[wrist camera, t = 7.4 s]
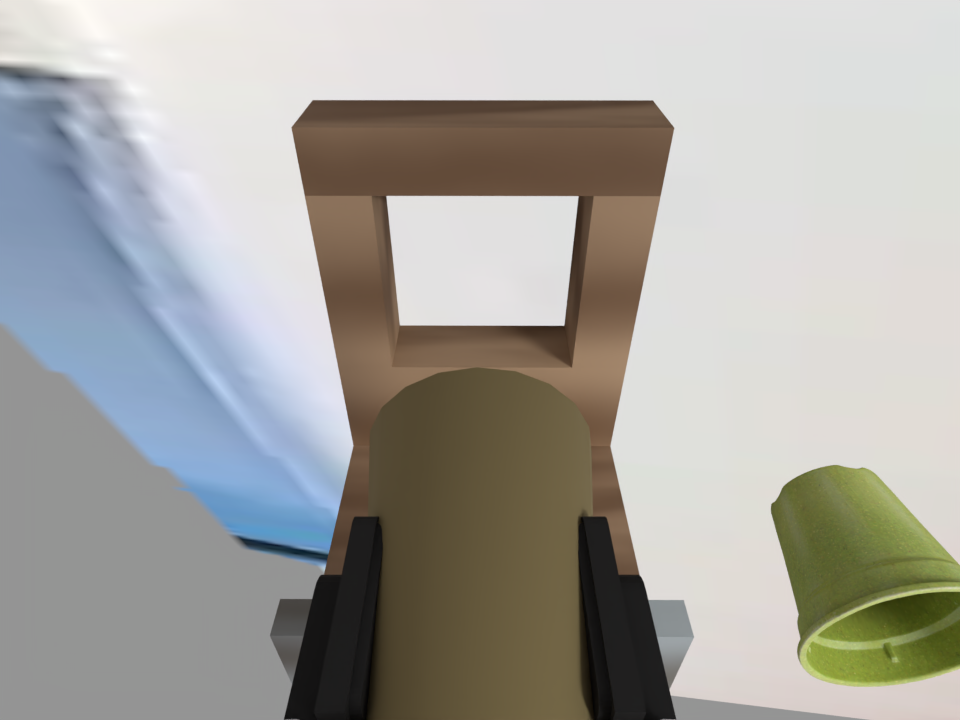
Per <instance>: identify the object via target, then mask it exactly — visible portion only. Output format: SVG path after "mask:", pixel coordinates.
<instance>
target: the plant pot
mask: <svg viewBox="0 0 960 720" xmlns="http://www.w3.org/2000/svg"><path fill="white" fill-rule="evenodd" d="M771 514H772V518H773V521H774V525H775V529H776V532H777V536H778V539H779V543H780V546H781V549H782V553H783V556H784V560H785V564H786V568H787V572H788V575H789V579H790V583H791V587H792V591H793V595H794V598H795V602H796V606H797V610H798V614H799V615H798V620H797V625H798V631H799V635H800V641H799V643H798V647H797V655H798V659H799V662H800V664H801V666H802V667H803V669H804V670H805V671H806V672H807V673H809V674H810V675H811V676H813V677H814V678H816V679H819V680H822V681H824V682H828V683H832V684H836V685H844V686H853V687H880V686H890V685H899V684H906V683H911V682H917V681H922V680H925V679H930V678H933V677H936V676H941V675H943V674H946V673H950V672H953V671H955V670H958V669H960V565H959V564H958V562H957V561H956V560H955V559H954V558H953V557H952V556H951V555H950V554H949V553H948V552H947V551H946V550H945V549H944V547H943V546H942V545H941V544H940V543H939V542H938V541H937V540H936V539H935V538H934V537H933V536H932V535H931V533H930V532H929V531H928V530H927V529H926V528H925V527H924V526H923V525H922V524H921V523H920V522H919V521H918V519H917V518H916V517H915V516H914V515H913V514H912V513H911V512H910V511H909V510H908V508H907V507H906V506H905V505H904V504H903V503H902V502H901V501H900V500H899V498H898V497H897V496H896V495H895V494H894V493H893V492H892V491H891V490H890V488H889V487H888V486H887V485H886V484H885V483H884V482H883V481H882V480H881V479H880V478H879V477H878V476H877V475H876V474H875V473H874V472H873V471H871V470H869V469H867V468H863V467H862V468H859V469H855V468H849V467H844V466H840V465H830V466H825V467H820V468H817V469H813V470H811V471H808V472H806V473H803V474H801V475H799V476H797V477H795V478H794V479H792V480H791V481H789V482H788V483H787V484H785V485H784V486H783V488H782V490H781V492H780V494H779V496H778V498H777V499H776V501H775V502H773V503H772V504H771Z"/></svg>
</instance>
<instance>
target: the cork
mask: <svg viewBox="0 0 960 720" xmlns="http://www.w3.org/2000/svg"><path fill="white" fill-rule="evenodd" d="M368 516H379V521H378V522H377V523H379V524H380V525H381V528H382V541H383V551H382V560H381V569H380V578H379V587H378V598H377V608H376V619H375V630H374V640H373V651H372V662H371V672H370V683H369V694H368V704H367V715H366V720H594V709H593V699H592V689H591V679H590V669H589V658H588V648H587V638H586V628H585V618H584V607H583V597H582V587H581V577H580V567H579V556H578V535H579V525H580V523H583V522H582V520H581V517H582V516H593V493H592V451H591V441H590V431H589V426H588V424H587V422H586V421H585V419H584V417H583V416H582V414H581V412H580V411H579V409H578V407H577V406H576V404H575V403H574V402H573V401H571V400H570V399H569V398H567V397H566V396H565V395H564V394H562V393H561V392H560V391H558V390H557V389H556V388H554V387H553V386H552V385H551V384H549V383H546V382H543V381H541V380H538V379H535V378H533V377H530V376H527V375H525V374H522V373H519V372H517V371H509V370H500V369H490V368H480V367H475V368H468V369H461V370H454V371H447V372H440V373H436V374H434V375H432V376H429V377H427V378H425V379H422V380H420V381H418V382H415V383H413V384H411V385H408V386H406V387H405V388H403V389H402V390H401V391H400V392H399V393H398V394H397V395H395V396H394V397H393V398H392V399H391V400H390V401H388V402H387V403H386V404H385V405H384V406H383V407H382V408H381V410H380V412H379V414H378V416H377V418H376V420H375V422H374V424H373V426H372V428H371V430H370V447H369V491H368Z"/></svg>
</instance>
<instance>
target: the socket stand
mask: <svg viewBox="0 0 960 720" xmlns="http://www.w3.org/2000/svg"><path fill="white" fill-rule="evenodd" d="M291 128H292V133H293V139H294V144H295V149H296V154H297V159H298V164H299V169H300V174H301V180H302V185H303V190H304V195H305V200H306V205H307V210H308V215H309V221H310V226H311V231H312V236H313V241H314V246H315V251H316V256H317V262H318V267H319V272H320V277H321V282H322V287H323V292H324V297H325V303H326V308H327V313H328V318H329V323H330V328H331V333H332V338H333V344H334V349H335V354H336V359H337V364H338V369H339V374H340V379H341V385H342V390H343V395H344V400H345V405H346V410H347V415H348V420H349V426H350V431H351V436H352V441H353V450H352V454H351V458H350V463H349V467H348V471H347V476H346V480H345V484H344V489H343V493H342V498H341V502H340V506H339V511H338V515H337V519H336V524H335V528H334V533H333V537H332V541H331V546H330V550H329V554H328V559H327V563H326V567H325V572H324V575H342V570H343V565H344V560H345V555H346V550H347V545H348V540H349V535H350V530H351V525H352V521H353V518H354V517H355V516H368V491H369V447H370V430H371V428H372V426H373V424H374V422H375V420H376V418H377V416H378V414H379V412H380V410H381V408H382V407H383V406H384V405H385V404H386V403H387V402H388V401H390V400H391V399H392V398H393V397H394V396H395V395H397V394H398V393H399V392H400V391H401V390H402V389H403V388H405V387H406V386H408V385H411V384H413V383H415V382H418V381H420V380H422V379H425V378H427V377H429V376H432V375H434V374H436V373H440V372H447V371H454V370H461V369H468V368H475V367H480V368H490V369H500V370H509V371H517V372H519V373H522V374H525V375H527V376H530V377H533V378H535V379H538V380H541V381H543V382H546V383H549V384H551V385H552V386H553V387H554V388H556V389H557V390H558V391H560V392H561V393H562V394H564V395H565V396H566V397H567V398H569V399H570V400H571V401H573V402H574V403H575V404H576V406H577V407H578V409H579V411H580V412H581V414H582V416H583V417H584V419H585V421H586V422H587V424H588V426H589V431H590V441H591V451H592V493H593V516H605V517H606V518H607V520H608V524H609V529H610V534H611V539H612V544H613V549H614V554H615V559H616V564H617V569H618V574H619V575H640V574H639V570H638V565H637V561H636V557H635V552H634V548H633V543H632V539H631V535H630V530H629V526H628V521H627V517H626V513H625V508H624V504H623V499H622V495H621V491H620V486H619V482H618V477H617V473H616V469H615V464H614V460H613V455H612V451H611V447H610V446H611V441H612V436H613V431H614V426H615V421H616V416H617V411H618V406H619V401H620V396H621V391H622V386H623V381H624V376H625V371H626V366H627V361H628V356H629V351H630V346H631V341H632V336H633V331H634V326H635V321H636V316H637V311H638V306H639V301H640V297H641V292H642V287H643V282H644V277H645V272H646V267H647V262H648V257H649V252H650V247H651V242H652V237H653V232H654V227H655V222H656V217H657V212H658V207H659V202H660V197H661V192H662V187H663V182H664V177H665V172H666V167H667V162H668V157H669V152H670V147H671V142H672V137H673V132H674V127H673V125H672V124H671V123H670V122H669V120H668V119H667V118H666V116H665V115H664V114H663V113H662V111H661V110H660V109H659V108H658V106H657V105H656V104H655V102H654V101H653V100H312V102H311V103H310V104H309V105H308V107H307V108H306V109H305V111H304V112H303V113H302V114H301V116H300V117H299V118H298V120H297V121H296V122H295V123H294V125H293V126H292V127H291ZM386 196H579V197H578V206H577V215H576V224H575V233H574V242H573V251H572V260H571V270H570V279H569V288H568V297H567V306H566V315H565V324H564V326H443V325H400V322H399V312H398V303H397V293H396V283H395V274H394V264H393V255H392V245H391V235H390V226H389V216H388V207H387V197H386ZM648 601H649V605H650V609H651V613H652V618H653V622H654V626H655V630H656V635H657V639H658V643H659V647H660V652H661V656H662V660H663V664H664V669H665V673H666V677H667V681H668V686H669V690H670V688H671V685H672V683H673V681H674V679H675V677H676V675H677V673H678V670H679V668H680V666H681V664H682V662H683V660H684V658H685V656H686V653H687V651H688V649H689V647H690V645H691V643H692V641H693V638H694V635H693V631H692V627H691V624H690V620H689V617H688V613H687V610H686V606H685V603H684V600H648ZM311 602H312V599H280V601H279V605H278V608H277V612H276V615H275V619H274V622H273V626H272V629H271V633H270V637H271V640H272V642H273V644H274V646H275V648H276V650H277V653H278V655H279V657H280V659H281V661H282V664H283V666H284V668H285V670H286V672H287V674H288V677H289V679H290V681H291V683H292V682H293V678H294V674H295V670H296V665H297V661H298V657H299V653H300V648H301V644H302V640H303V636H304V631H305V627H306V623H307V619H308V614H309V610H310V606H311Z"/></svg>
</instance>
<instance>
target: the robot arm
mask: <svg viewBox="0 0 960 720" xmlns="http://www.w3.org/2000/svg"><path fill="white" fill-rule="evenodd" d="M581 520H582V522H583V523H580V525H579V535H578V556H579V567H580V577H581V587H582V597H583V607H584V618H585V628H586V638H587V648H588V658H589V669H590V679H591V689H592V699H593V709H594V720H676V715H675V711H674V707H673V703H672V698H671V694H670V690H669V686H668V681H667V677H666V673H665V669H664V664H663V660H662V656H661V652H660V647H659V643H658V639H657V635H656V630H655V626H654V622H653V618H652V613H651V609H650V605H649V601H648V596H647V592H646V588H645V585H644V582H643V579H642V577H641V576H640V575H619V574H618V569H617V564H616V559H615V554H614V549H613V544H612V539H611V534H610V529H609V524H608V520H607V518H606V517H605V516H582V517H581ZM378 521H379V516H355V517H354V518H353V521H352V525H351V530H350V535H349V540H348V545H347V550H346V555H345V560H344V565H343V570H342V575H320V576H319V578H318V580H317V582H316V586H315V589H314V593H313V597H312V602H311V606H310V610H309V614H308V619H307V623H306V627H305V631H304V636H303V640H302V644H301V648H300V653H299V657H298V661H297V665H296V670H295V674H294V678H293V682H292V687H291V691H290V695H289V699H288V704H287V708H286V712H285V716H284V720H366V715H367V704H368V694H369V683H370V672H371V662H372V651H373V640H374V630H375V619H376V608H377V598H378V587H379V578H380V569H381V560H382V551H383V541H382V528H381V525H380V524H379V523H377V522H378Z"/></svg>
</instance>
